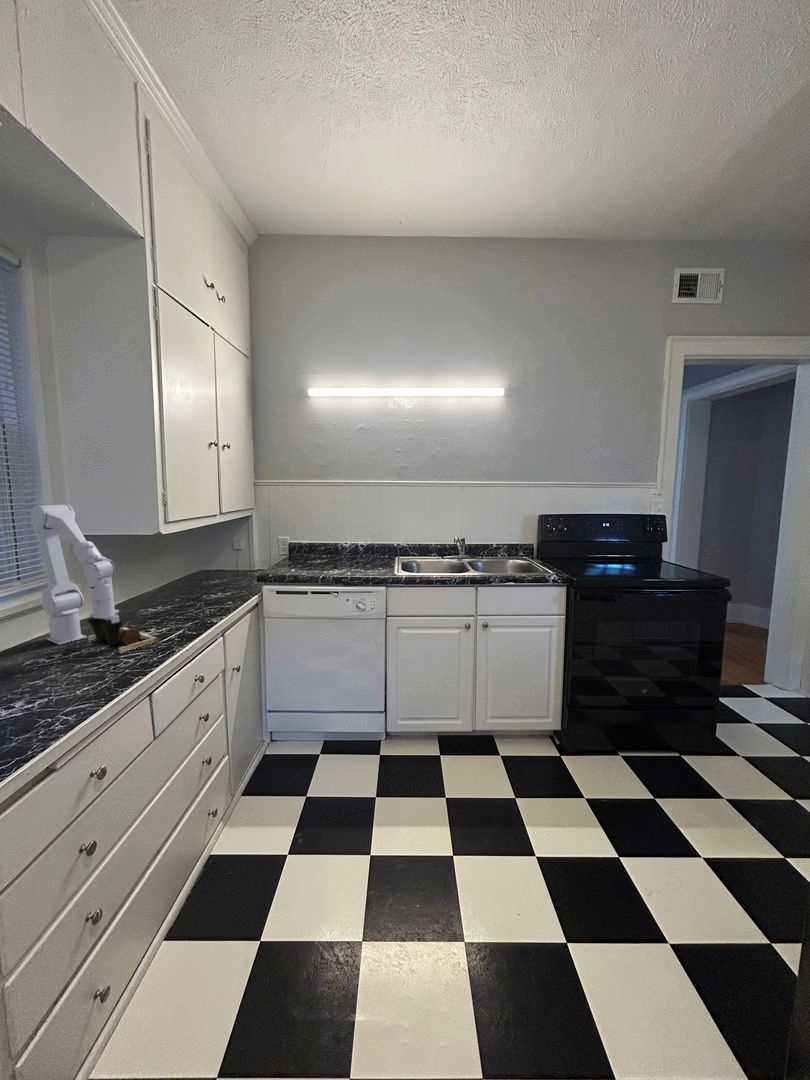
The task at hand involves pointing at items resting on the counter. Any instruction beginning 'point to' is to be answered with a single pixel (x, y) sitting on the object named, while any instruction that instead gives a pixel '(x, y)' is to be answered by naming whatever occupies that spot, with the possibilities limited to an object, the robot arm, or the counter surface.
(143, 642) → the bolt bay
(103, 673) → the counter surface
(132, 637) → the bolt
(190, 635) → the counter surface
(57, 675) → the counter surface
